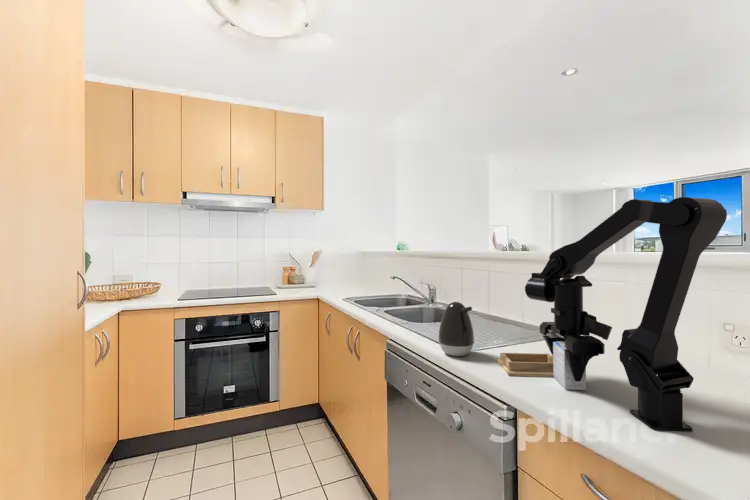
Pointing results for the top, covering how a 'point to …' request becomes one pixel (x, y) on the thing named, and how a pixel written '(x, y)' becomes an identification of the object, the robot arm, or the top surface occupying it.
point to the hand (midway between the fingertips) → (568, 374)
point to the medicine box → (565, 369)
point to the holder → (527, 364)
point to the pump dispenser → (456, 330)
